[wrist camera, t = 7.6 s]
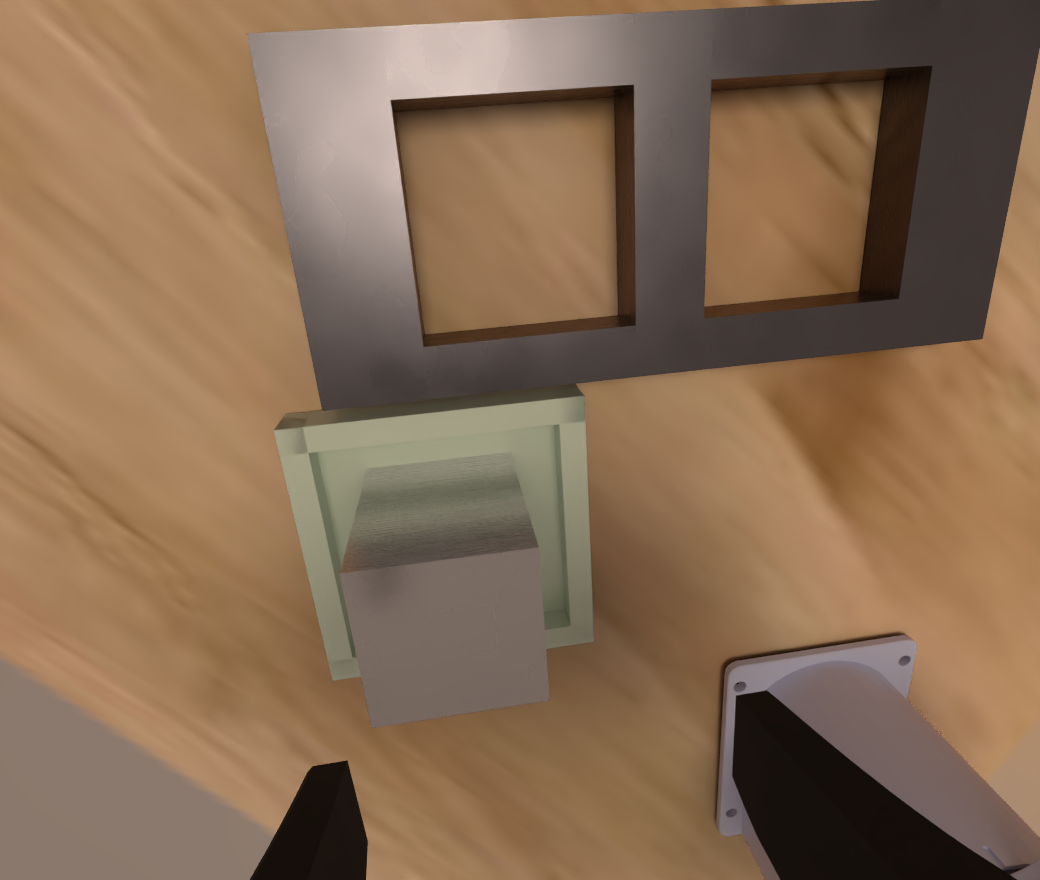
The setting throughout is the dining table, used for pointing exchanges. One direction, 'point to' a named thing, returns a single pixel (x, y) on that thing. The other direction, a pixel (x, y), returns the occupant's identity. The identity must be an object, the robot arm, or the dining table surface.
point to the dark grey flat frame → (646, 182)
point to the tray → (438, 436)
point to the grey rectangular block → (445, 591)
